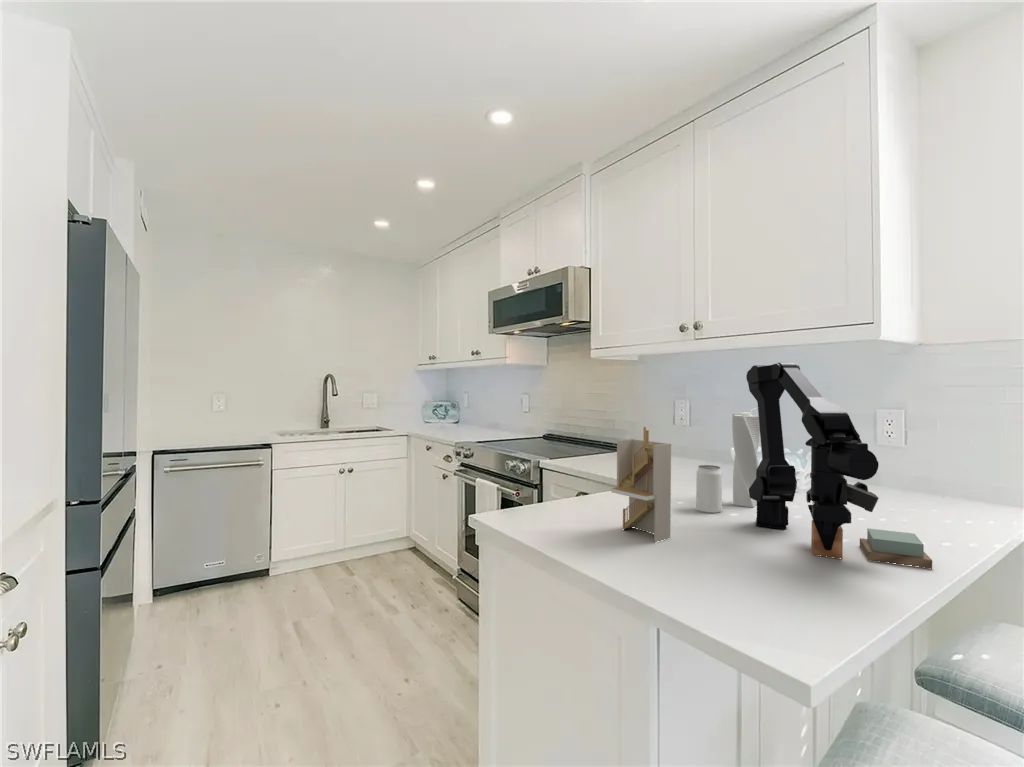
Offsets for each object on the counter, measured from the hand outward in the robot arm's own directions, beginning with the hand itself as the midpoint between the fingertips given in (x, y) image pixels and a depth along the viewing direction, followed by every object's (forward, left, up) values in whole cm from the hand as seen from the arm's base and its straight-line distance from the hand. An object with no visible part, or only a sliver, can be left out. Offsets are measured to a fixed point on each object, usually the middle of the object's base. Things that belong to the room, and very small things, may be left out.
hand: (826, 546), depth 105 cm
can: (-25, +26, -2) cm, 36 cm away
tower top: (+12, +4, 0) cm, 13 cm away
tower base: (+12, +4, -2) cm, 13 cm away
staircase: (-37, -4, -2) cm, 37 cm away
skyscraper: (-16, +38, -2) cm, 41 cm away
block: (0, 0, -2) cm, 2 cm away
